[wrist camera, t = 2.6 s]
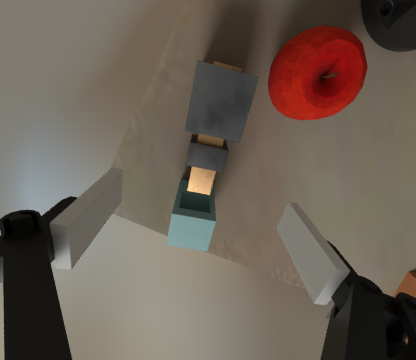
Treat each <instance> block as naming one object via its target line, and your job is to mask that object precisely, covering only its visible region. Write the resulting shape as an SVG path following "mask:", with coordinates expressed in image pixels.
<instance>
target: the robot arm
mask: <svg viewBox="0 0 416 360" xmlns="http://www.w3.org/2000/svg"><path fill="white" fill-rule="evenodd" d="M361 6H362V16H363V21H364V24H365V27H366V29H367V31H368V33H369V35H370V36H371V38H372V39H373V40H374V41H375V42H376V43H377V44H378V45H380V46H381V47H383V48H385V49H388V50H391V51H397V52H404V51H412V50H416V0H362V1H361ZM122 174H123V170H121V169H116V168H111V169H110V170H109V171H108V172H107V173H106V174H105V175H103V176H102V177H101V178H100V179H99V180H98V181H97V182H95V183H94V184H93V185H92V186H91V187H90V188H89V189H88V190H87V191H85V192H84V193H83V194H82V195H81V196H80V197H79V198H77V197H71V196H70V197H68V198H66V199H63V200H61V201H60V202H59V203H58V204H56V205H55V206H54V207H52V208H51V209H50V211H47V212H46V213H45V214H44V215H42V216H41V215H40V213H39V212H36V211H34V210H20V211H16V212H12V213H9V214H7V215H5V216H4V217H2V218H1V219H0V231H1V235H2V236H0V283H3V291H4V350H5V351H4V352H5V360H72V357H71V353H70V348H69V343H68V339H67V334H66V330H65V326H64V321H63V317H62V312H61V308H60V303H59V299H58V295H57V290H56V286H55V281H54V277H53V273H52V268H51V264H50V263H51V262H52V261H53V260H54V262H55V268H62V269H69V270H72V268H73V267H74V266H75V264H76V263H77V261H78V260H79V259H80V257H81V256H82V254H83V253H84V252H85V250H86V249H87V248H88V246H89V245H90V243H91V242H92V241H93V239H94V238H95V237H96V235H97V234H98V232H99V231H100V230H101V228H102V227H103V226H104V224H105V223H106V221H107V220H108V219H109V217H110V216H111V215H112V213H113V212H114V210H115V209H116V208H117V206H118V205H119V203H120V202H121V193H122ZM276 229H277V231H278V233H279V235H280V237H281V239H282V241H283V243H284V245H285V247H286V249H287V251H288V253H289V255H290V257H291V259H292V261H293V263H294V265H295V267H296V269H297V271H298V273H299V275H300V277H301V279H302V281H303V283H304V285H305V287H306V289H307V291H308V293H309V295H310V297H311V299H312V301H313V303H314V304H322V305H326V304H327V303H328V302H329V300H330V299H331V298H332V300H333V301H334V303H335V305H334V306H333V308H332V309H331V311H330V312H329V313H328V315H327V316H326V318H329V317H330V320H329V325H328V329H327V333H326V337H325V342H324V346H323V351H322V355H321V360H416V298H415V297H413V296H411V295H409V294H406V293H403V292H399V293H398V294H397V295H396V296H395V298H394V297H391V296H389V295H386V294H384V293H382V291H381V289H380V288H379V287H378V286H377V285H376V284H375V283H373V282H372V281H370V280H369V279H367V278H365V277H362V276H358V274H357V273H356V272H355V271H354V269H353V268H352V267H351V266H350V265H349V263H348V262H347V261H346V260H345V259H344V257H343V256H342V255H341V254H340V252H339V251H338V250H337V249H336V247H335V246H334V245H332V244H331V243H330V242H329V241H326V239H325V238H324V237H323V236H322V234H321V233H320V232H319V231H318V229H317V228H316V227H315V226H314V224H313V223H312V222H311V221H310V219H309V218H308V217H307V215H306V214H305V213H304V212H303V210H302V209H301V208H300V207H299V205H298V204H297V203H292V202H288V204H287V206H286V208H285V210H284V213H283V215H282V217H281V219H280V221H279V224H278V226H277V228H276ZM407 338H408V342H407V344H406V341H405V340H406V339H407Z"/></svg>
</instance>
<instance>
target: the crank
mask: <svg viewBox="0 0 416 360" xmlns="http://www.w3.org/2000/svg"><path fill="white" fill-rule="evenodd" d="M399 292H403V293H406V294H409V295H411V296H413V297H415V298H416V272H408V273H407V275H406V276H405V278H404V280H403V281H402V283H401V284H400V286H399V288H398V289H397V291H396V293H395V294H394V296H393V297H394V298H395V296H396V295H397V294H398V293H399ZM405 341H406V344H407V342H408V338H407V339H406V340H405Z"/></svg>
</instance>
